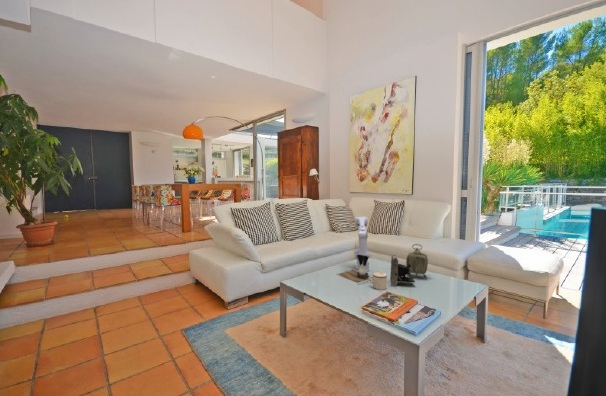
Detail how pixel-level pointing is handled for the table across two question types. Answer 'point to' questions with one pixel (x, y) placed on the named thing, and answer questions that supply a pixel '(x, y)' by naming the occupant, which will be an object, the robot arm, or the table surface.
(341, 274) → the board
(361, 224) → the robot arm
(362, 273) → the cap plug
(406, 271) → the vintage camera
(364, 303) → the table surface
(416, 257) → the tabletop clock
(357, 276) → the faceted grey ring
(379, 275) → the teacup with lid
